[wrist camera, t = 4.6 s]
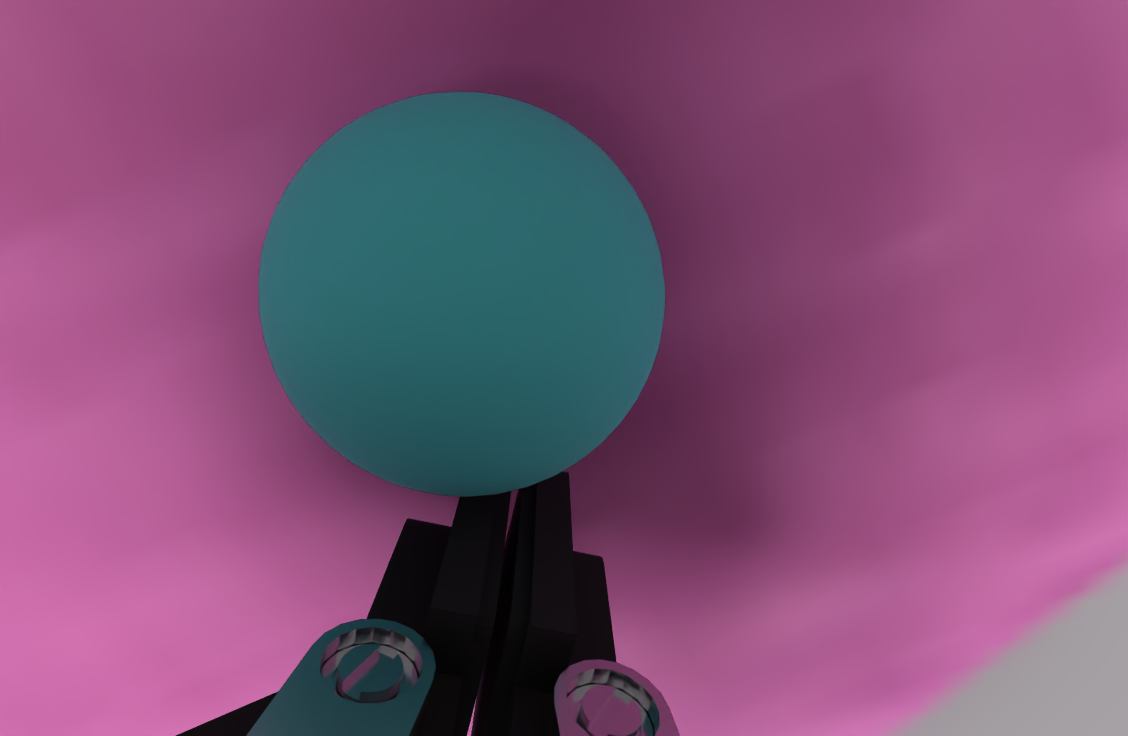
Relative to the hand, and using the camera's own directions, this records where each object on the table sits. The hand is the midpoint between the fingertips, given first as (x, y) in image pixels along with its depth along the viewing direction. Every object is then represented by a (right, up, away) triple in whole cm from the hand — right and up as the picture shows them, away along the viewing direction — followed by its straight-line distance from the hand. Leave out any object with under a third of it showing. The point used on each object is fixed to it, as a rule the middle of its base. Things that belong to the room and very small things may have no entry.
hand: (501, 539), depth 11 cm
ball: (0, +4, -3) cm, 5 cm away
